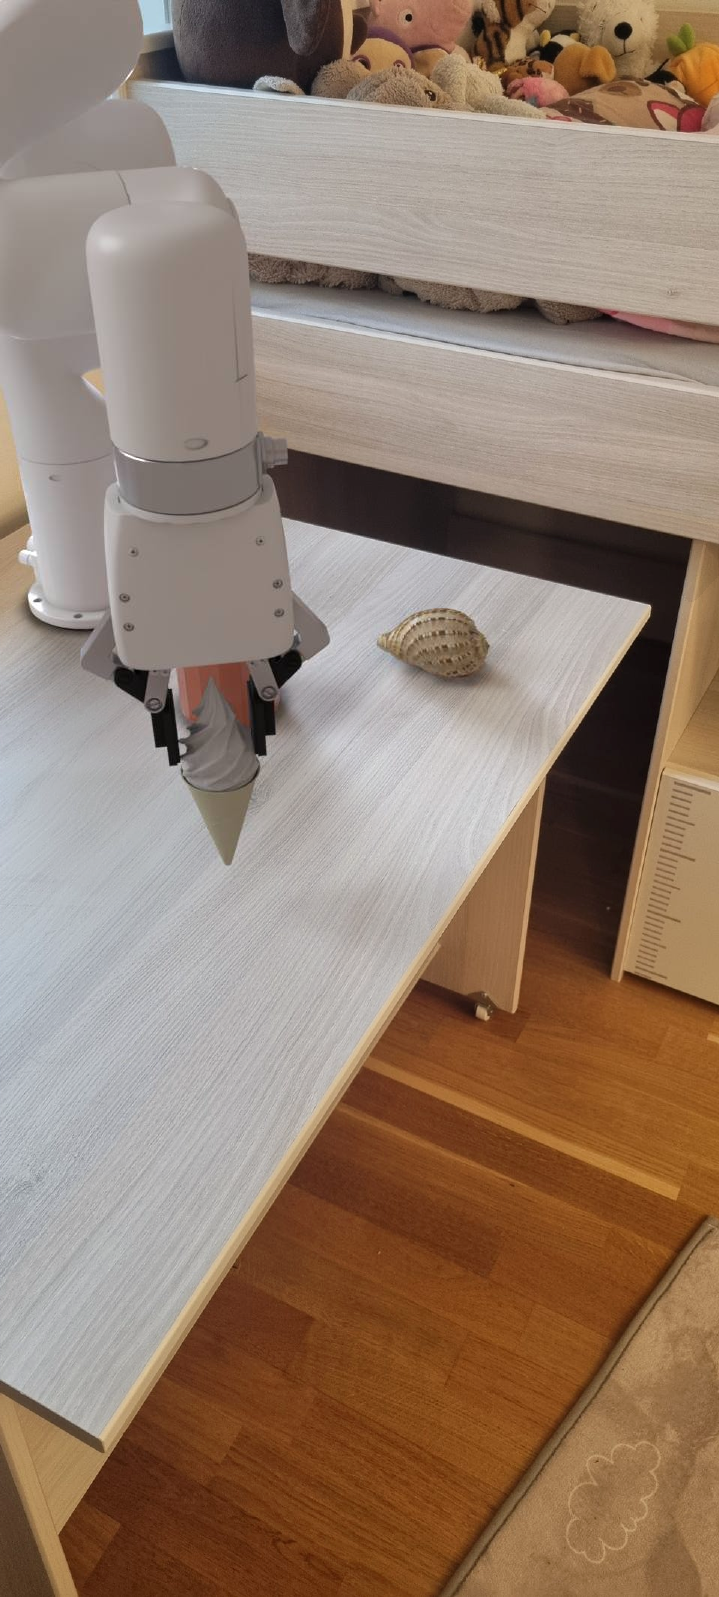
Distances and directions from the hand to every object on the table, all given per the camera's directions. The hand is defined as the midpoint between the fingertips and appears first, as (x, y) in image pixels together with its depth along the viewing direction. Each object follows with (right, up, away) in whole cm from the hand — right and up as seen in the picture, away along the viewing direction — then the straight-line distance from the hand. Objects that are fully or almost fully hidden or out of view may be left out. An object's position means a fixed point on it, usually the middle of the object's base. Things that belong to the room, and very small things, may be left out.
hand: (216, 745), depth 74 cm
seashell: (+15, +9, +33) cm, 38 cm away
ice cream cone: (0, -8, +6) cm, 10 cm away
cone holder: (-2, +5, +29) cm, 29 cm away
